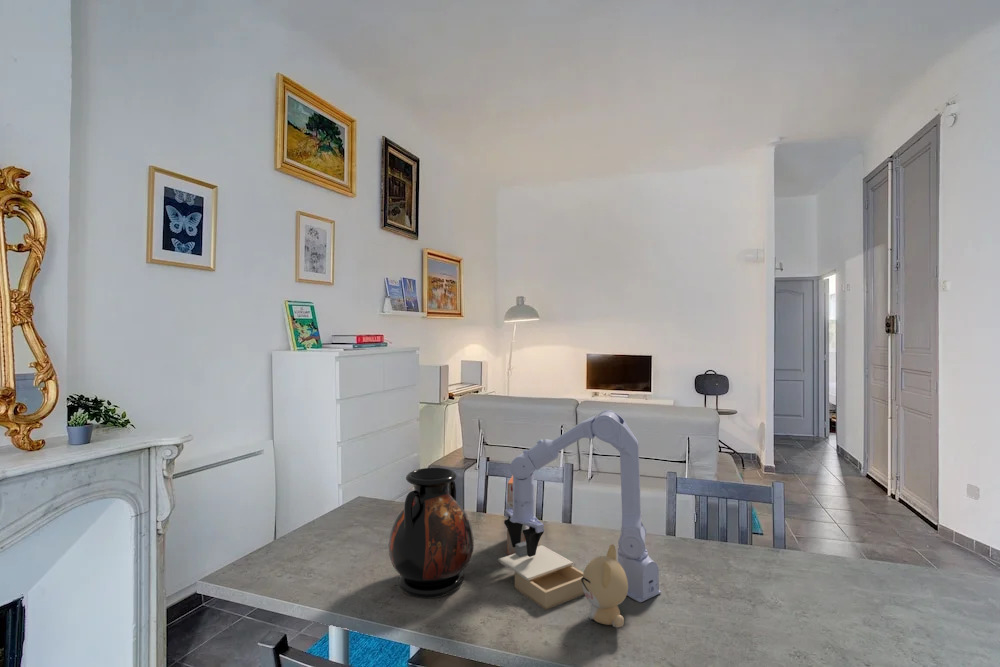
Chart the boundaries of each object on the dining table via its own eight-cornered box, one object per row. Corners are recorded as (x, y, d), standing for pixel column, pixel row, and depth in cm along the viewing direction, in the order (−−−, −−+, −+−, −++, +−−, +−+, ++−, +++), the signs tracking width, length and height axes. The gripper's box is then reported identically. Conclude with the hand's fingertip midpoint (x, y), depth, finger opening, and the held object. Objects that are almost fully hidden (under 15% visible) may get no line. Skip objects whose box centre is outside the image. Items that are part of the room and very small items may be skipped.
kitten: (589, 597, 116) (588, 535, 117) (632, 606, 113) (631, 541, 113) (575, 633, 102) (575, 561, 103) (623, 643, 99) (623, 569, 99)
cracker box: (527, 557, 138) (526, 483, 138) (506, 555, 139) (506, 482, 140) (533, 537, 152) (533, 470, 152) (514, 536, 153) (514, 469, 153)
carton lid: (573, 564, 124) (573, 552, 124) (528, 580, 116) (528, 567, 116) (541, 547, 135) (541, 535, 135) (498, 561, 126) (498, 548, 126)
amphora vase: (426, 557, 138) (425, 459, 139) (489, 576, 127) (489, 469, 127) (369, 591, 120) (369, 477, 120) (439, 616, 109) (438, 491, 109)
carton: (589, 592, 119) (589, 575, 119) (545, 610, 111) (545, 592, 111) (557, 572, 129) (557, 557, 129) (514, 588, 121) (514, 572, 121)
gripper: (496, 495, 133) (496, 544, 133) (528, 510, 121) (528, 565, 121) (516, 490, 137) (516, 538, 137) (549, 505, 125) (550, 557, 125)
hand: (523, 550), depth 129 cm, fingers open, 6 cm apart
